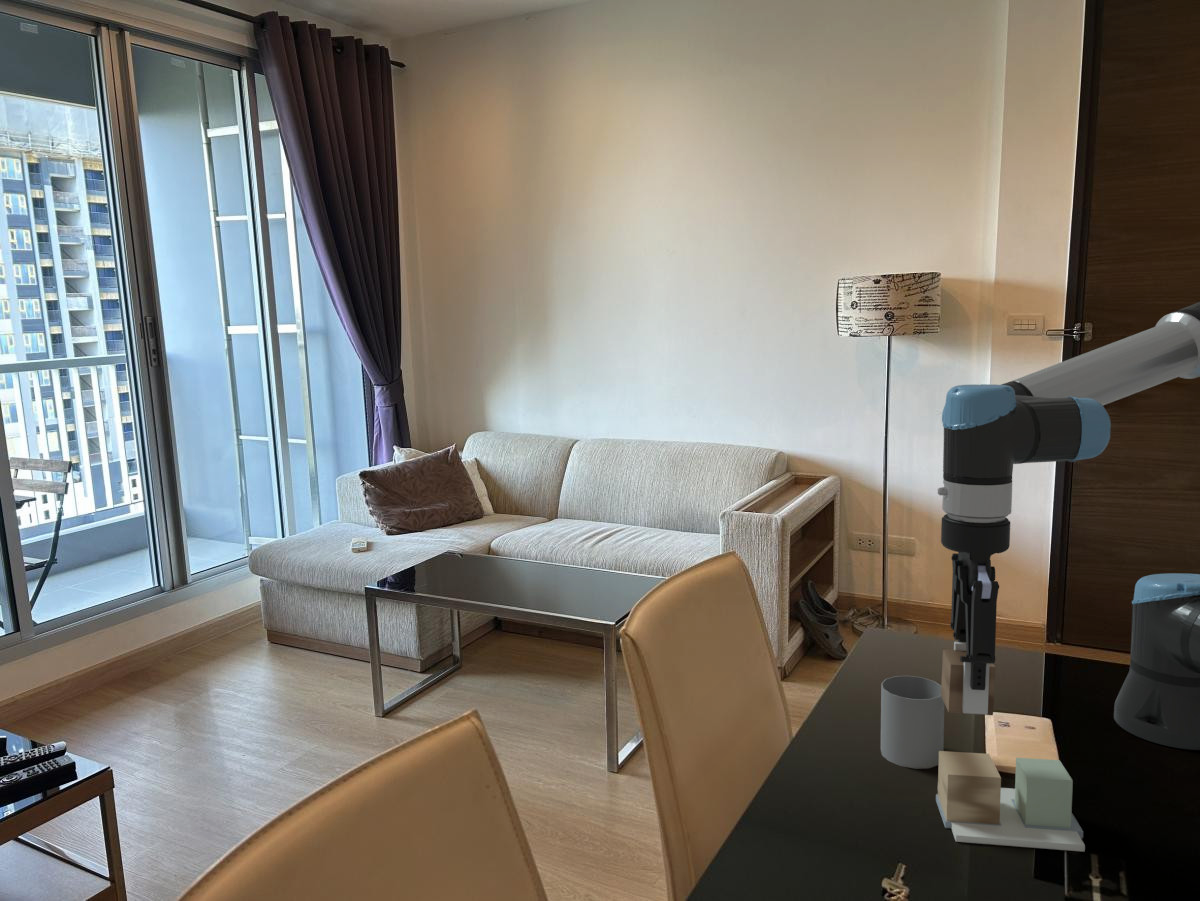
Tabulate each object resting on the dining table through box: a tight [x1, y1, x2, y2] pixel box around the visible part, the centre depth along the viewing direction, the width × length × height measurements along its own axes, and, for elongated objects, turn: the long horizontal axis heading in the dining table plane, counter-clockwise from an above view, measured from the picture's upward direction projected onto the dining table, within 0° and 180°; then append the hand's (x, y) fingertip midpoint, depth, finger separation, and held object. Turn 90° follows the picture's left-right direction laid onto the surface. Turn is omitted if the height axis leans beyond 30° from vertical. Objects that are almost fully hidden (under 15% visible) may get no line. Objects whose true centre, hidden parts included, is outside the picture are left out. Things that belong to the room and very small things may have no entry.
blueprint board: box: [935, 787, 1086, 853], centre depth 108 cm, size 15×12×1 cm
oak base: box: [937, 750, 1002, 825], centre depth 109 cm, size 6×6×6 cm
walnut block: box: [940, 649, 997, 716], centre depth 107 cm, size 5×5×6 cm
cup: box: [880, 675, 945, 770], centre depth 125 cm, size 8×8×10 cm
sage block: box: [1014, 757, 1074, 828], centre depth 107 cm, size 5×5×6 cm
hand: (969, 702), depth 107 cm, fingers closed on walnut block, 5 cm apart
